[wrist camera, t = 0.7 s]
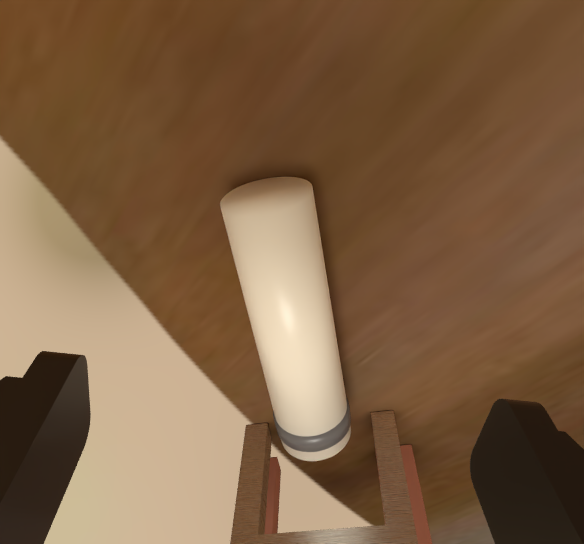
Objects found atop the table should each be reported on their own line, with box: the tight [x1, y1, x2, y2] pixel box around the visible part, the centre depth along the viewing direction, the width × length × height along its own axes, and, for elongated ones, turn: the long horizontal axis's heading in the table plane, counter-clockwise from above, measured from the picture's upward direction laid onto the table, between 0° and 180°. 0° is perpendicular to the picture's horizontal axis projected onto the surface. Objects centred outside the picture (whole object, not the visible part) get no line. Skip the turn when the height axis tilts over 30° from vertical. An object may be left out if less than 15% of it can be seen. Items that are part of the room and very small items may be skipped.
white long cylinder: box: [220, 177, 351, 461], centre depth 28 cm, size 16×5×5 cm, turn 10°
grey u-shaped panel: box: [230, 410, 418, 544], centre depth 31 cm, size 10×2×10 cm, turn 100°
